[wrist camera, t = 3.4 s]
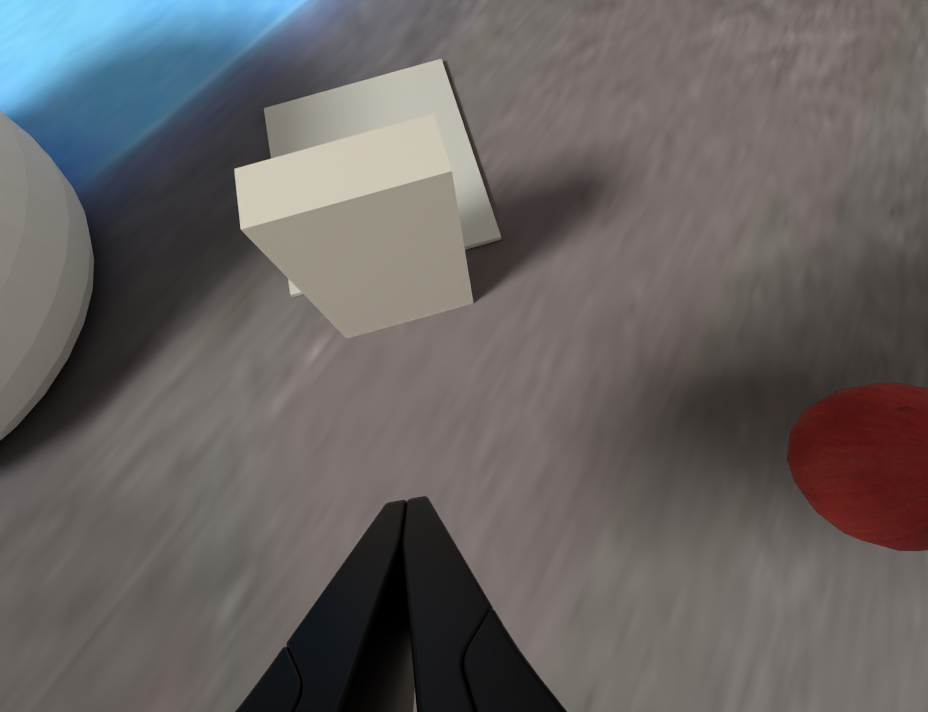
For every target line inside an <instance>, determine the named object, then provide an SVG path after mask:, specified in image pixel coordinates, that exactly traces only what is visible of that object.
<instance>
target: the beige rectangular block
mask: <svg viewBox="0 0 928 712" xmlns="http://www.w3.org/2000/svg"><path fill="white" fill-rule="evenodd" d="M234 172H235V181H236V190H237V200H238V209H239V218H240V228H241V230H242V231H243V233H244V234H245V235H246V236H247V237H248V238H249V239H250V240H251V241H252V242H253V243H254V244H255V245H256V246H257V247H258V248H259V249H260V250H261V251H262V252H263V253H264V254H265V255H266V256H267V257H268V258H269V259H270V260H271V261H272V262H273V263H274V264H275V265H276V266H277V267H278V268H279V269H280V270H281V272H282V273H283V274H284V275H285V276H286V277H287V278H288V279H289V280H290V281H291V282H292V283H293V284H294V285H295V286H296V287H297V288H298V289H299V290H300V291H301V292H302V293H303V294H304V295H305V296H306V297H307V298H308V299H309V300H310V301H311V302H312V303H313V304H314V305H315V306H316V307H317V308H318V310H319V311H320V312H321V313H322V314H323V315H324V316H325V317H326V318H327V319H328V320H329V321H330V322H331V323H332V324H333V325H334V326H335V327H336V328H337V329H338V330H339V331H340V332H341V333H342V334H343V335H344V336H345V337H346V338H351V337H354V336H358V335H362V334H365V333H369V332H373V331H376V330H380V329H383V328H387V327H391V326H394V325H398V324H401V323H405V322H409V321H412V320H416V319H420V318H423V317H427V316H430V315H434V314H438V313H441V312H445V311H449V310H452V309H456V308H459V307H463V306H467V305H470V304H474V303H473V297H472V291H471V285H470V279H469V273H468V267H467V260H466V254H465V248H464V242H463V236H462V230H461V224H460V217H459V211H458V205H457V199H456V193H455V187H454V181H453V174H452V170H451V166H450V163H449V160H448V157H447V153H446V150H445V147H444V144H443V141H442V137H441V134H440V131H439V128H438V125H437V121H436V118H435V115H434V113H433V114H430V115H426V116H423V117H419V118H415V119H412V120H408V121H405V122H401V123H398V124H394V125H390V126H387V127H383V128H380V129H376V130H372V131H369V132H365V133H362V134H358V135H354V136H351V137H347V138H344V139H340V140H336V141H333V142H329V143H326V144H322V145H318V146H315V147H311V148H308V149H304V150H300V151H297V152H293V153H290V154H286V155H282V156H279V157H275V158H272V159H268V160H264V161H261V162H257V163H254V164H250V165H246V166H243V167H239V168H236V169H234Z"/></svg>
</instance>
